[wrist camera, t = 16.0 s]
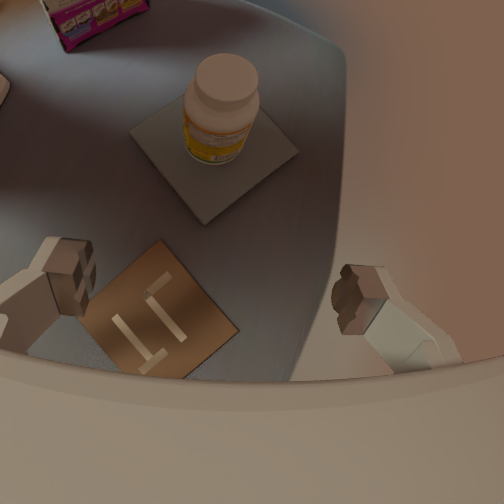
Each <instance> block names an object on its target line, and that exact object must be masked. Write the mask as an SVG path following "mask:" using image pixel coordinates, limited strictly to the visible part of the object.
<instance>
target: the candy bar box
mask: <svg viewBox="0 0 504 504" xmlns="http://www.w3.org/2000/svg"><path fill="white" fill-rule="evenodd" d="M40 2H41V4H42V7H43V9H44V11H45V14H46V16H47V18H48V21H49V23H50V25H51V27H52V29H53V31H54V33H55V35H56V37H57V39H58V41H59V43H60V44H61V46H62V48H63V50H64V51H65V53H67V52H69V51H71V50H73V49H74V48H76V47H78V46H79V45H81V44H83V43H84V42H86V41H88V40H89V39H91V38H93V37H95V36H96V35H98V34H100V33H102V32H104V31H105V30H107V29H109V28H111V27H113V26H115V25H117V24H119V23H121V22H123V21H125V20H126V19H129V18H131V17H133V16H135V15H137V14H139V13H141V12H143V11H146V10H148V9H150V5H149V0H40Z"/></svg>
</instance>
